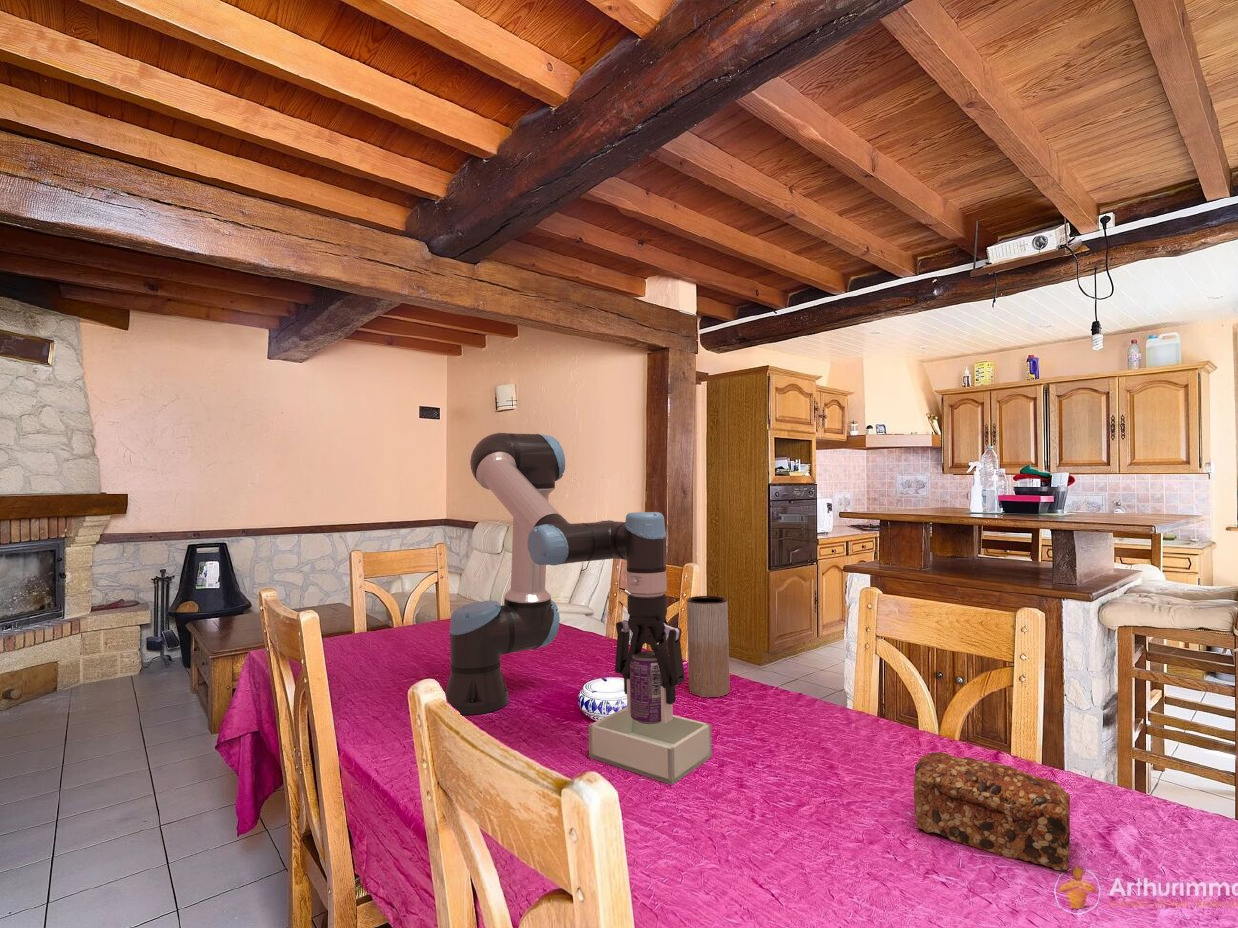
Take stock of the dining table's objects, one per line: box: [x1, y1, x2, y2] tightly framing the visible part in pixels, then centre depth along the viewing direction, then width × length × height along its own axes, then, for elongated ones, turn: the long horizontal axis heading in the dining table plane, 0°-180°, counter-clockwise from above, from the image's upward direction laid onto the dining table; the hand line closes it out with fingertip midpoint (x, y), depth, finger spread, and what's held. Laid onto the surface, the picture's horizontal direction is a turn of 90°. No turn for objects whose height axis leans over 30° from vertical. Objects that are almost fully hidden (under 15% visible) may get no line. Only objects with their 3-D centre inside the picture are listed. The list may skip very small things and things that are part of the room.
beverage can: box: [630, 650, 664, 724], centre depth 117 cm, size 7×7×12 cm
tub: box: [588, 706, 713, 786], centre depth 117 cm, size 19×14×6 cm
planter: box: [686, 595, 731, 698], centre depth 153 cm, size 10×10×23 cm
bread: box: [913, 751, 1071, 871], centre depth 89 cm, size 19×11×10 cm, turn 53°
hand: (649, 716), depth 117 cm, fingers closed on beverage can, 7 cm apart
